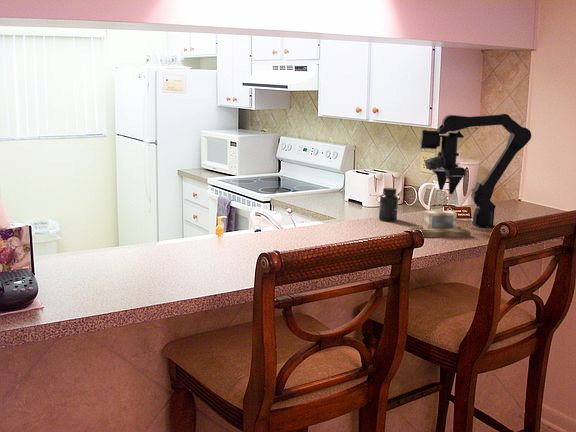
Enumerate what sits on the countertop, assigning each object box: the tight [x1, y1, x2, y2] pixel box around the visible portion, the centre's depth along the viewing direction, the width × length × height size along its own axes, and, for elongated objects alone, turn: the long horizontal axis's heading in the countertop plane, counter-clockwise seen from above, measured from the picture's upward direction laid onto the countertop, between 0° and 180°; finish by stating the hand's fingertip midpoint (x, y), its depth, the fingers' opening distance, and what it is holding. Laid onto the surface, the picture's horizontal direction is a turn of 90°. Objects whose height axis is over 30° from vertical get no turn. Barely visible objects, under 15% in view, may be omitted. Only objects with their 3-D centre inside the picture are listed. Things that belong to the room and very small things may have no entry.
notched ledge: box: [409, 225, 472, 238], centre depth 235 cm, size 18×10×2 cm, turn 100°
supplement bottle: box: [378, 187, 399, 222], centre depth 256 cm, size 7×7×12 cm
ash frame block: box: [423, 210, 458, 229], centre depth 235 cm, size 10×5×6 cm, turn 100°
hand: (445, 191), depth 250 cm, fingers open, 9 cm apart
